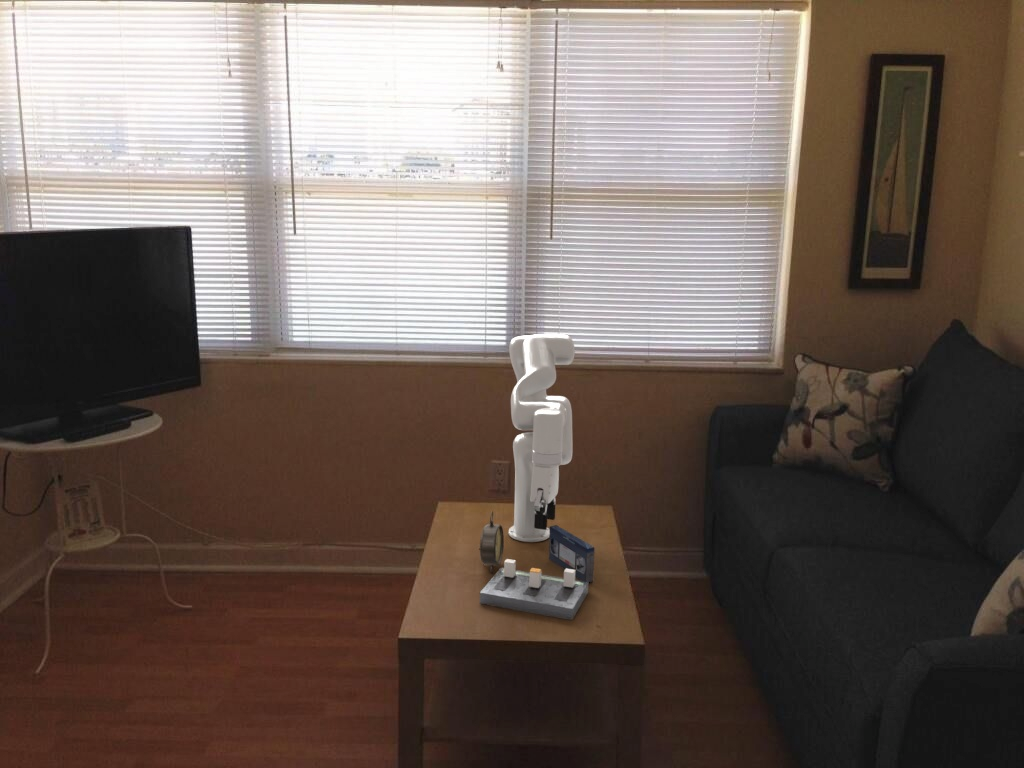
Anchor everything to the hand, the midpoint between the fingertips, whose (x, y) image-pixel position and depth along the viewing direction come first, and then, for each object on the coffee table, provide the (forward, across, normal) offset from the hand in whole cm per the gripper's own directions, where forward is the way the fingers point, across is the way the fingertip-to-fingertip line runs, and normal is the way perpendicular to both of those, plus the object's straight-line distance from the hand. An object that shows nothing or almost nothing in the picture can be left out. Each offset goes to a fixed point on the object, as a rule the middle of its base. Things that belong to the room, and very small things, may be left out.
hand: (544, 523), depth 235 cm
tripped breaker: (+14, +7, 0) cm, 16 cm away
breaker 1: (+14, +4, -8) cm, 17 cm away
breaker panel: (+18, +7, 0) cm, 19 cm away
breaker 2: (+14, +3, +8) cm, 17 cm away
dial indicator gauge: (+18, -7, -17) cm, 26 cm away
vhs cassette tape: (+18, -13, +4) cm, 23 cm away
